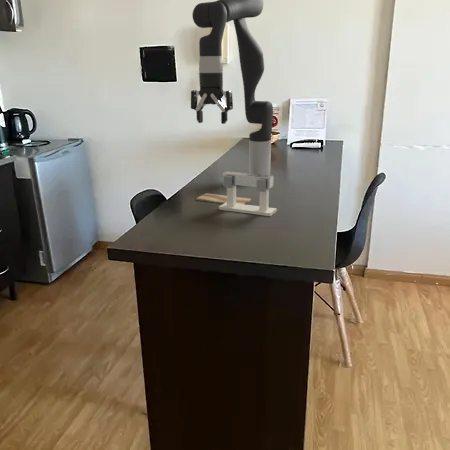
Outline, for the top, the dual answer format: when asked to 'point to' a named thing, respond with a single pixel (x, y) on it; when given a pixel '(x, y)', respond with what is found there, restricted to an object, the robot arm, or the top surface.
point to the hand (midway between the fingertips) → (211, 123)
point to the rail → (249, 179)
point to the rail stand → (233, 206)
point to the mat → (221, 199)
